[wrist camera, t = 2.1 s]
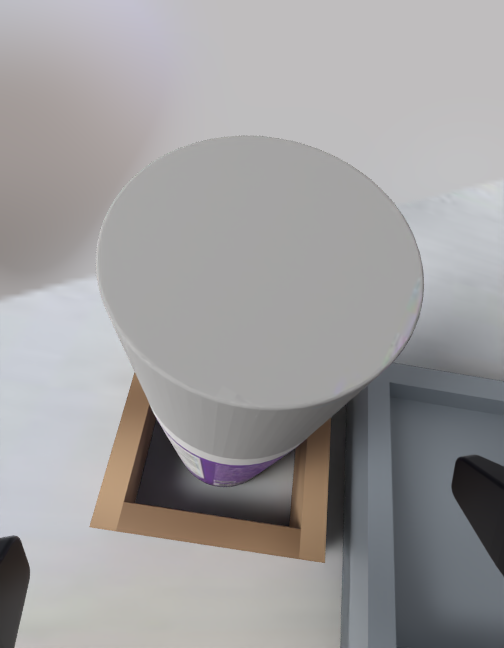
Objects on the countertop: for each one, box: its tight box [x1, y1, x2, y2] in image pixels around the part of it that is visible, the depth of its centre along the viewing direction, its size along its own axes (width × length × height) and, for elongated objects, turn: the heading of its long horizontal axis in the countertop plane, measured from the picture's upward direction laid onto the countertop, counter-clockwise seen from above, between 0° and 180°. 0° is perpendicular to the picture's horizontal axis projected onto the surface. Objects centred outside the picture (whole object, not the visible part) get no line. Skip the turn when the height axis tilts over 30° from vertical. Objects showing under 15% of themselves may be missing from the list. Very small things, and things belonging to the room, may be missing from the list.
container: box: [96, 136, 424, 487], centre depth 12 cm, size 5×5×15 cm
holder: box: [90, 373, 331, 563], centre depth 17 cm, size 9×9×2 cm
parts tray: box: [340, 363, 504, 648], centre depth 17 cm, size 12×12×3 cm
